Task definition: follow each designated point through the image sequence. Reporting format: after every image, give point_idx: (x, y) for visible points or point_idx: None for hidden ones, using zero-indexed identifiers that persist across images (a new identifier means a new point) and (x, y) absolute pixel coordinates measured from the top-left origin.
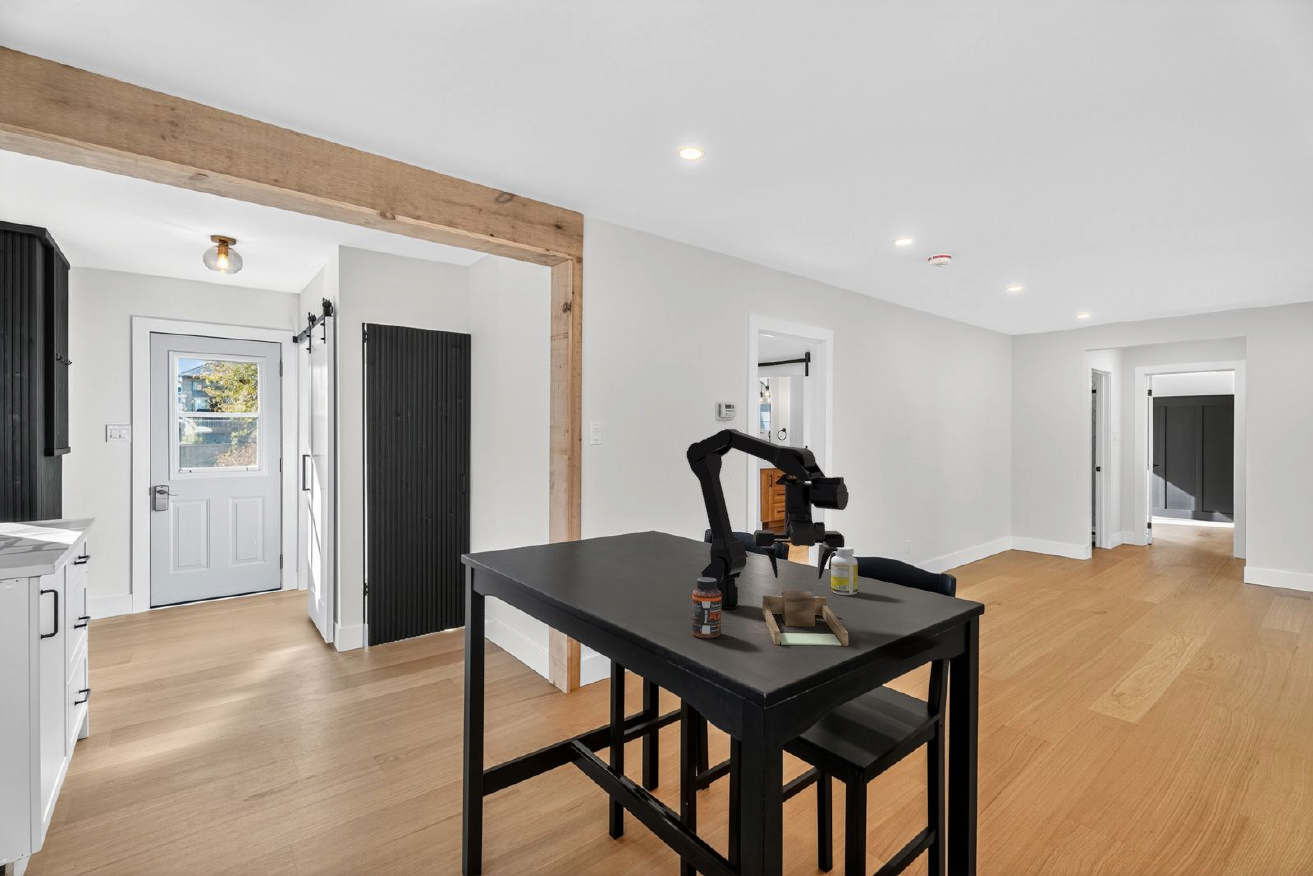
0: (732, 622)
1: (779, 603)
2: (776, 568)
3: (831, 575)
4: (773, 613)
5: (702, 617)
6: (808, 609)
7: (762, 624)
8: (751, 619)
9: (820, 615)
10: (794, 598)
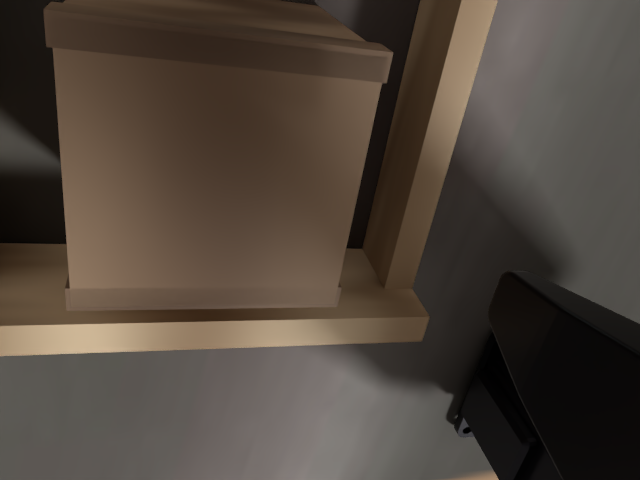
0: (613, 105)
1: None
2: (617, 332)
3: None
4: None
5: None
6: (140, 6)
7: None
8: (486, 162)
9: (3, 243)
10: (303, 39)
